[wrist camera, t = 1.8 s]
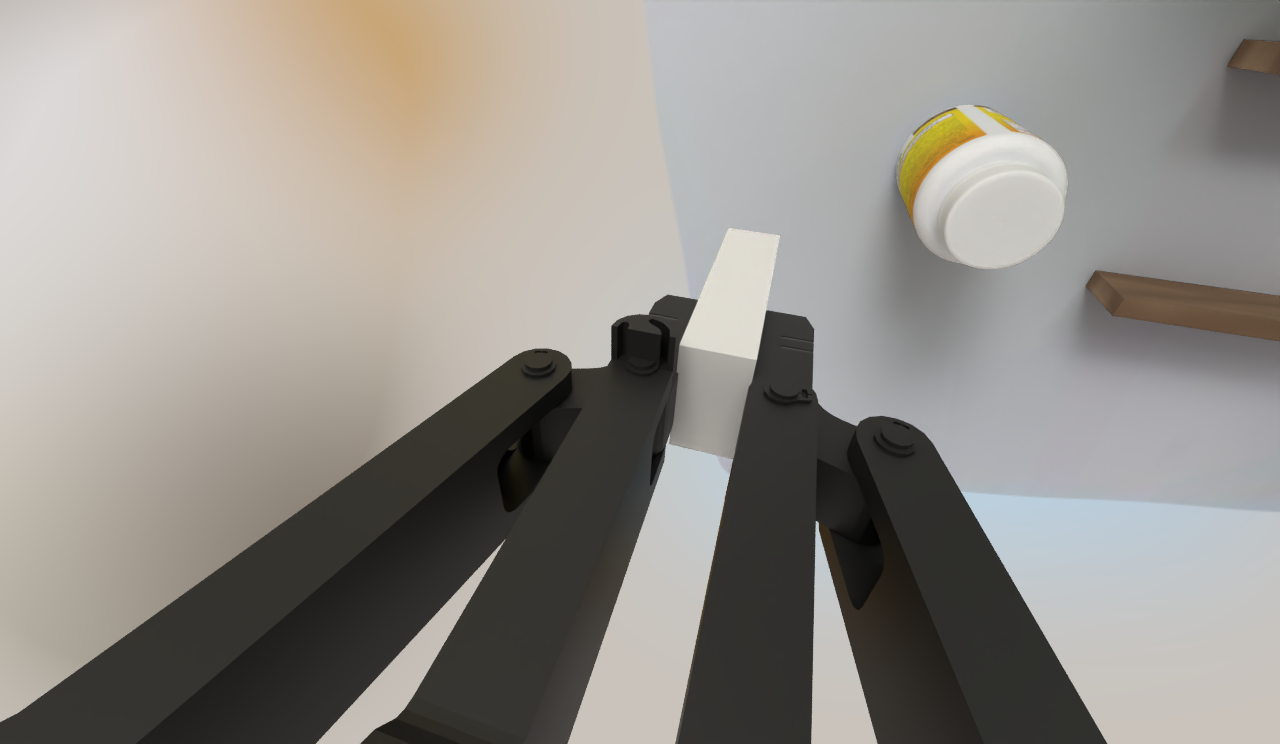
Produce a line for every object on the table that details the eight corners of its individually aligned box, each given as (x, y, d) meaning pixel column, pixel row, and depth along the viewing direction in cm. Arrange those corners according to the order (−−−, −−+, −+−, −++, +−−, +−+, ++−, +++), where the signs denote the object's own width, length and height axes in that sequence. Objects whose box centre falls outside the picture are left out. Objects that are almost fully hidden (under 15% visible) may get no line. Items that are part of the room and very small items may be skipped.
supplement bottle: (884, 208, 30) (905, 283, 22) (908, 103, 27) (943, 147, 19) (991, 211, 28) (1055, 293, 20) (1030, 101, 25) (1124, 147, 17)
